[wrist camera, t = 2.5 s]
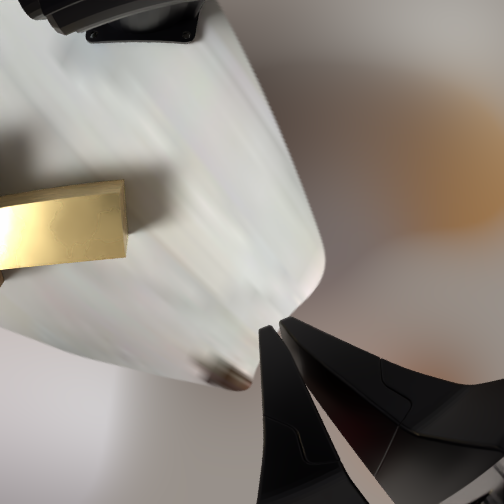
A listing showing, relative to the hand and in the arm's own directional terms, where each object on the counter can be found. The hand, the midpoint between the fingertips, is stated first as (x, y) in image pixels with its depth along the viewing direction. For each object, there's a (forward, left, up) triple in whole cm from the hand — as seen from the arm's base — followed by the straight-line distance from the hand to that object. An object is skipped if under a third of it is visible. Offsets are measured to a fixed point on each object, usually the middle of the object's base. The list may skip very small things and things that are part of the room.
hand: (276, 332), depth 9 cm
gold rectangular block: (+11, 0, -10) cm, 15 cm away
